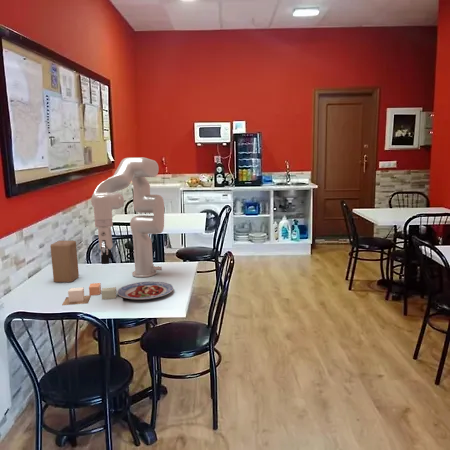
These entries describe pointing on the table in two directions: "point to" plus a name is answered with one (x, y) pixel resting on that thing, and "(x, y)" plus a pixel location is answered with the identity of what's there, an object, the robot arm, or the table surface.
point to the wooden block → (64, 261)
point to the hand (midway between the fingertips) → (106, 261)
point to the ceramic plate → (145, 290)
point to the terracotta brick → (95, 289)
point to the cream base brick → (76, 294)
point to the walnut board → (66, 302)
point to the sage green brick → (108, 293)
